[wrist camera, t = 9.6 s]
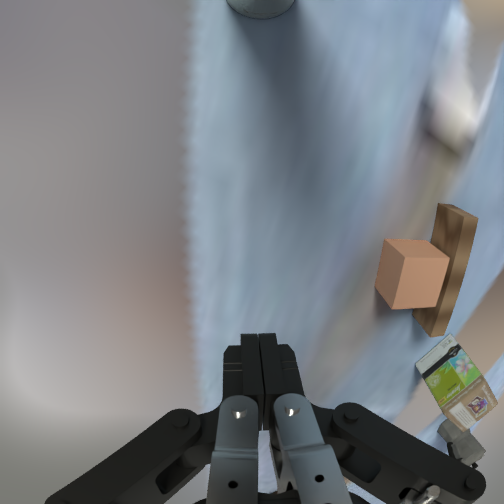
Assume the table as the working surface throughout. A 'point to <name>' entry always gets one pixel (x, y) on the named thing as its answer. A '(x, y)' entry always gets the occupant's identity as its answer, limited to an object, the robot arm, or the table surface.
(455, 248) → the walnut board
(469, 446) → the coffeepot
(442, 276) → the terracotta block
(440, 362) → the tea box
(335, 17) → the table surface
